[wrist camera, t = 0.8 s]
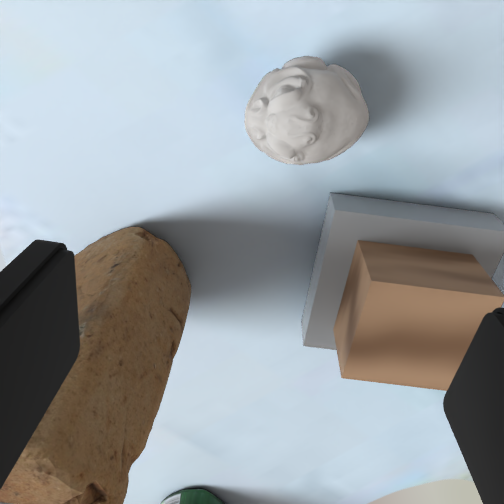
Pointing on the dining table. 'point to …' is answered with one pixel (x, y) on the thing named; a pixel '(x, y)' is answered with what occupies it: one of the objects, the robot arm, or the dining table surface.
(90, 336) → the block
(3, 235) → the dining table surface
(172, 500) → the coffee jar
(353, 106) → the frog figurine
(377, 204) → the slate plinth
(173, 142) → the dining table surface
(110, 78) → the dining table surface
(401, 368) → the walnut block
